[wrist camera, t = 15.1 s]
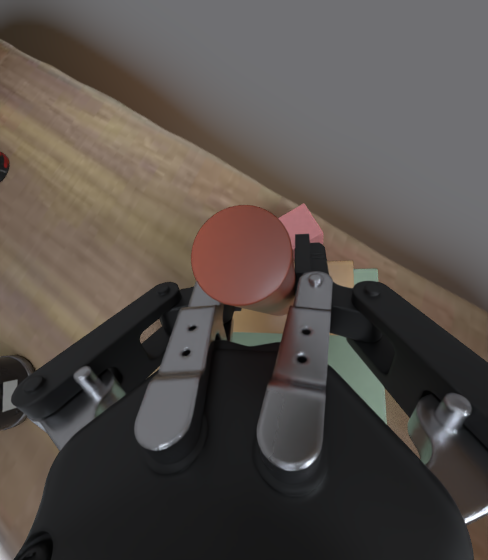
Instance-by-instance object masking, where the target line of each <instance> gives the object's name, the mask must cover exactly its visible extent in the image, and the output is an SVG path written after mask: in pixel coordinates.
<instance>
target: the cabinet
mask: <svg viewBox="0 0 488 560" xmlns="http://www.w3.org/2000/svg"><path fill="white" fill-rule="evenodd" d="M353 272H354V285H355V284H357V283H359V282H362V281H376V282H378V271H377V269H353ZM282 335H283V334H277V333H245V332H233V337H232V342H234V343H238V344H242V345H245V346H256V345H262V344H268V343H274V342H281V339H282ZM328 364H329V365H330V366H331V367H332V368H333V369H334V370H335V371H336V372H337V373H338V374H339V375H340V376H341V377H342V378H343V379H344V380H345V381H346V382H347V383H348V384H349V385H350V386H351V388H352V389H353V390H354V391H355V392H356V393H357V394H358V395H359V396H360V397H361V398H362V399H363V400H364V401H365V402H366V403H367V404H368V405H369V406H370V407H371V409H372V410H373V411H374V412H375V413H376V414H377V415H378V416H379V417H380V418H381V419H382V420H383V421H384V422H385V423H386V424H387V421H386V405H385V388H384V386H383V385H382V384H381V382H380V381H379V380H378V379H377V378H376V376H375V375H374V374H373V373H372V372H371V370H370V369H369V368H368V367H367V365H366V364H365V363H364V362H363V361H362V359H361V358H360V357H359V356H358V355H357V353H356V352H355V351H354V350H353V348H352V347H351V346H350V345H349V344H348V342H347V340H346V337H342V336H339V335H329V350H328Z"/></svg>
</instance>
